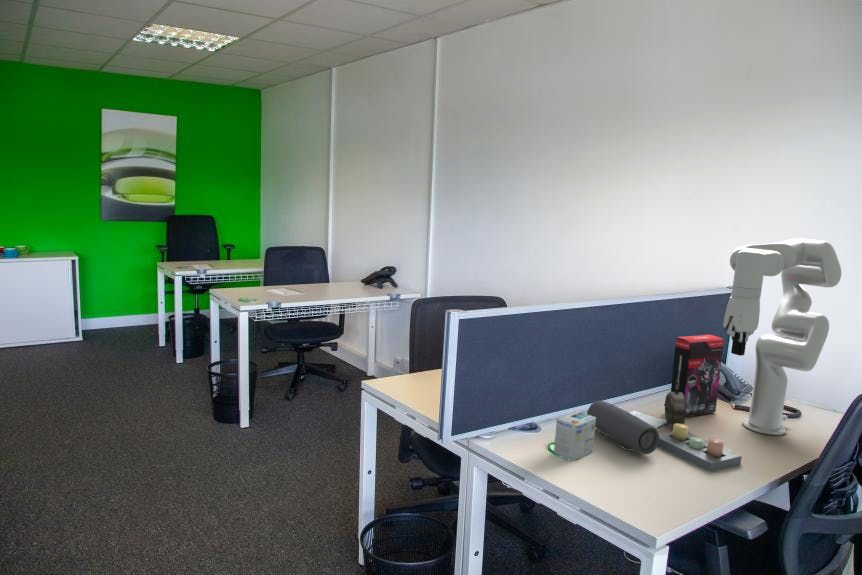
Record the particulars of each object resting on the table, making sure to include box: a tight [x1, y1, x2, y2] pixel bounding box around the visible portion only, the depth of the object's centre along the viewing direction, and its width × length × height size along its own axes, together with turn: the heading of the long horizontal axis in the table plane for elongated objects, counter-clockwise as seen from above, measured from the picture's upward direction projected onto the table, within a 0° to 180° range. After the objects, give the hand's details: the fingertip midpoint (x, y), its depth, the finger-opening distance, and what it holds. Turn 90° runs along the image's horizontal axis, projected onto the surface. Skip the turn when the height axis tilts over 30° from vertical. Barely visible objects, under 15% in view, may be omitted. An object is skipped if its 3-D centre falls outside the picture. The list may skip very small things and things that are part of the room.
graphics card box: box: [670, 334, 725, 418], centre depth 209 cm, size 17×7×27 cm, turn 117°
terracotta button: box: [706, 438, 725, 458], centre depth 170 cm, size 4×4×4 cm
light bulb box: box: [553, 410, 596, 462], centre depth 170 cm, size 11×7×11 cm, turn 134°
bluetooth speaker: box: [586, 399, 660, 455], centre depth 180 cm, size 23×9×10 cm, turn 23°
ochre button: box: [672, 423, 689, 441], centre depth 180 cm, size 4×4×4 cm
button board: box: [657, 431, 743, 472], centre depth 175 cm, size 13×20×2 cm, turn 28°
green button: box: [689, 437, 705, 450], centre depth 175 cm, size 4×4×4 cm
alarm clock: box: [663, 380, 687, 427], centre depth 194 cm, size 11×5×16 cm, turn 169°
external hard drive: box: [629, 410, 669, 431], centre depth 200 cm, size 2×8×12 cm
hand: (737, 354), depth 177 cm, fingers closed
